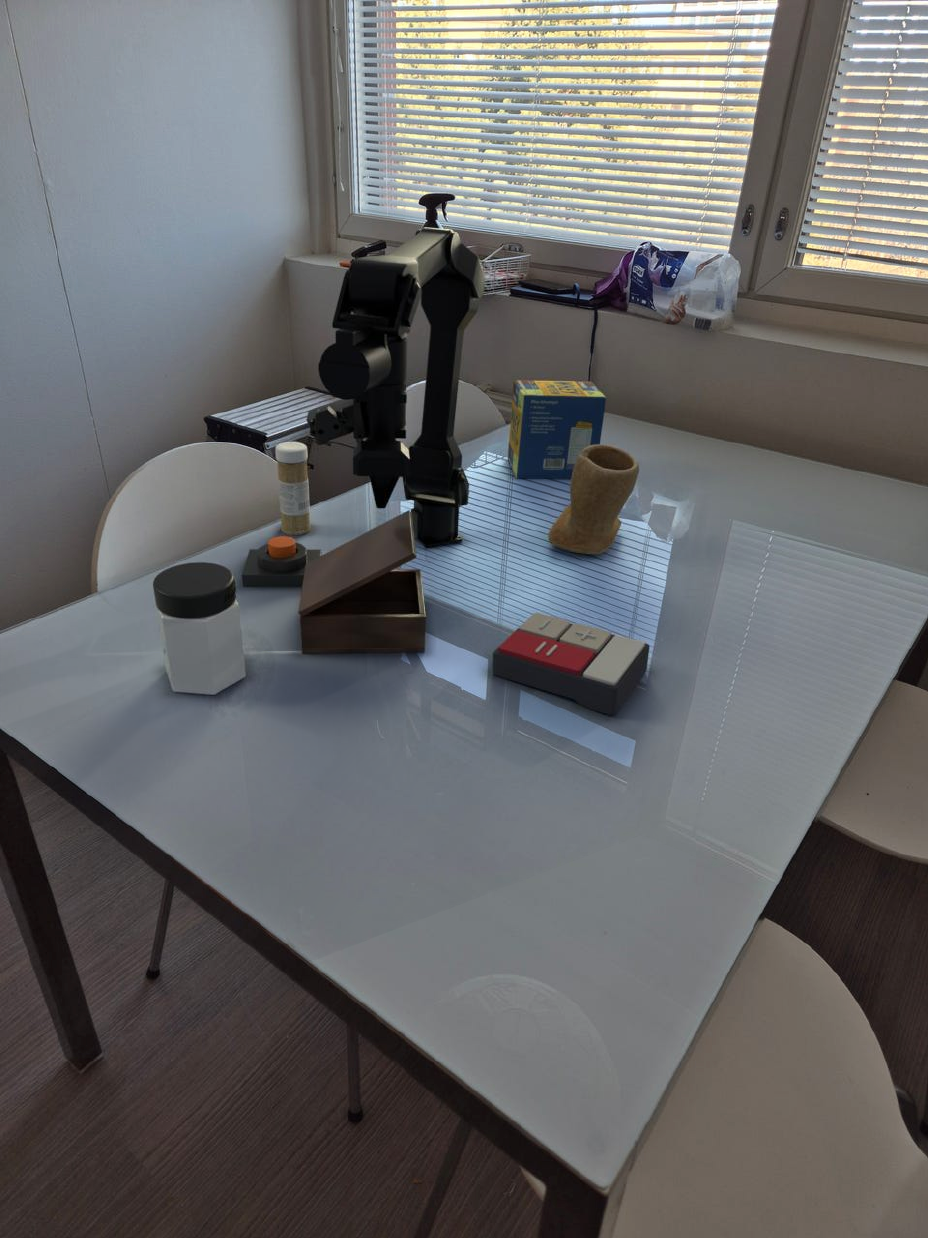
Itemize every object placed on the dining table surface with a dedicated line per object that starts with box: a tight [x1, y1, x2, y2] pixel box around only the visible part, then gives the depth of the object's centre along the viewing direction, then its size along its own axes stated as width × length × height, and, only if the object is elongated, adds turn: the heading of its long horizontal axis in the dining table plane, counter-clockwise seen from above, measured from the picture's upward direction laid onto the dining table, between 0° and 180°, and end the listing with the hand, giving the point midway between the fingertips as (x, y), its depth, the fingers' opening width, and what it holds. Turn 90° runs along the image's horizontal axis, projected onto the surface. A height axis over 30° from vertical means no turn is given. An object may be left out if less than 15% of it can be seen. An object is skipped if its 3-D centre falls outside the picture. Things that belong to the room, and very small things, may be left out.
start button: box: [267, 535, 296, 558], centre depth 111 cm, size 4×4×2 cm
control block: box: [241, 542, 323, 588], centre depth 112 cm, size 10×8×4 cm
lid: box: [297, 509, 417, 617], centre depth 97 cm, size 15×12×1 cm
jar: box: [152, 561, 247, 696], centre depth 88 cm, size 9×8×12 cm
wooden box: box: [299, 568, 427, 655], centre depth 101 cm, size 14×12×5 cm
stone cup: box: [547, 443, 640, 555], centre depth 124 cm, size 15×12×15 cm
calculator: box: [492, 612, 651, 716], centre depth 94 cm, size 11×4×15 cm
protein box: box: [507, 379, 607, 480], centre depth 152 cm, size 10×15×16 cm
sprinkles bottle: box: [274, 441, 312, 536], centre depth 122 cm, size 5×5×14 cm
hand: (380, 507), depth 101 cm, fingers closed
